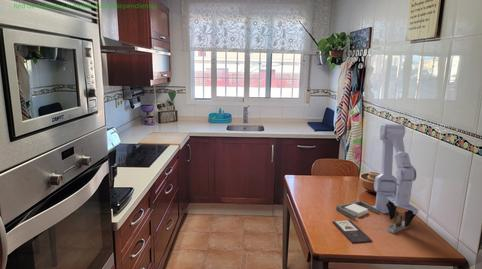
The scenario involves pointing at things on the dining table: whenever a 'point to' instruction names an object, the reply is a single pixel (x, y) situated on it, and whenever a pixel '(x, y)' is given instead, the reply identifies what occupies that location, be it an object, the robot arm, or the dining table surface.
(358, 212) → the tile
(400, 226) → the scraper
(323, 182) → the dining table surface
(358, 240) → the chocolate bar
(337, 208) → the bay
